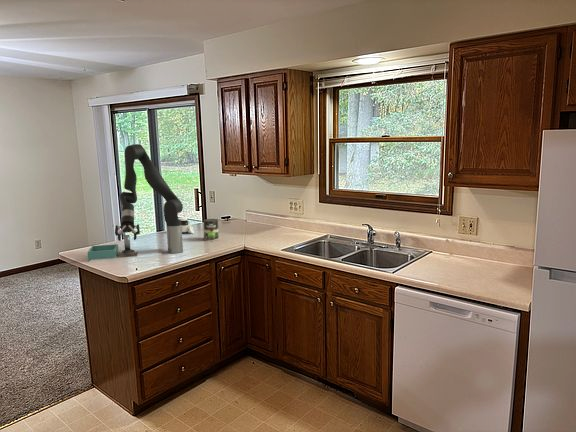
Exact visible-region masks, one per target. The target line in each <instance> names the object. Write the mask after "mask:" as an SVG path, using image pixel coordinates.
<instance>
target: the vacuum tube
mask: <svg viewBox="0 0 576 432" xmlns="http://www.w3.org/2000/svg"><path fill="white" fill-rule="evenodd" d="M130 239H131V238H130V235H129V234H125V235H124V234H123V241H124V242H123V243H124V249H123V250H124V253H129V252H132V250H133V249H131V240H130Z"/></svg>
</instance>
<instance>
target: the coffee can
mask: <svg viewBox="0 0 576 432" xmlns="http://www.w3.org/2000/svg"><path fill="white" fill-rule="evenodd" d="M203 235H204V236H203V237H204V238H203V239H204V241H207V242H215V241H218V240H220V238H219V237H220V236H219V219H218V218H207V219H203Z"/></svg>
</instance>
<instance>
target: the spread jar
mask: <svg viewBox="0 0 576 432" xmlns="http://www.w3.org/2000/svg"><path fill="white" fill-rule="evenodd" d="M178 219H179V220H181V225H182V235H186V234H189V233H190V234H194V233H195V231H194V230H195V229H194V227H193V225H192V224H189V221H188V217H183V216H181V217H178Z"/></svg>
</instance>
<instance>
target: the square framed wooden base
mask: <svg viewBox="0 0 576 432" xmlns="http://www.w3.org/2000/svg"><path fill="white" fill-rule="evenodd" d="M124 250H125V249H123V250H121V252H118V254H117V256H116V258H117V259H119V258H131V257H137V256H138V255H139V251H135V249H132V252H129V253H124Z"/></svg>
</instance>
